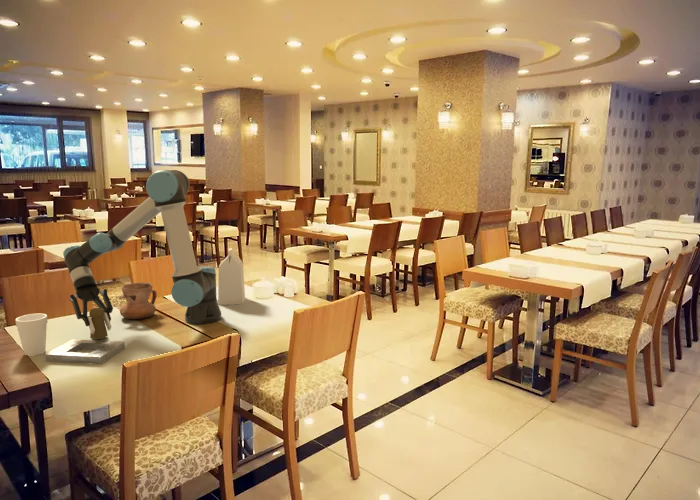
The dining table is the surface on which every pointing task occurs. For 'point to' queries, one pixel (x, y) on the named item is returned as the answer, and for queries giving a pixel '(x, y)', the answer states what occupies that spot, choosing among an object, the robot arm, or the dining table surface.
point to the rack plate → (71, 355)
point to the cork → (98, 323)
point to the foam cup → (32, 333)
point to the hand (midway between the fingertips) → (101, 330)
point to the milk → (231, 280)
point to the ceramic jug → (138, 300)
